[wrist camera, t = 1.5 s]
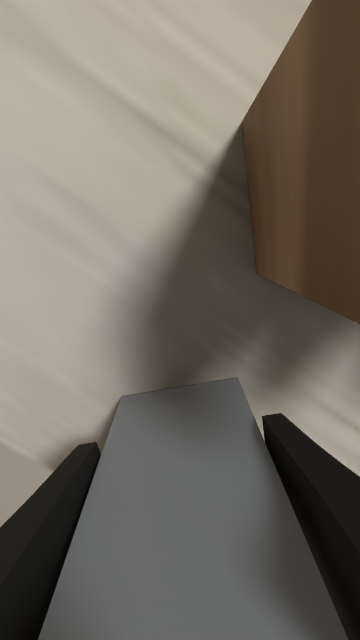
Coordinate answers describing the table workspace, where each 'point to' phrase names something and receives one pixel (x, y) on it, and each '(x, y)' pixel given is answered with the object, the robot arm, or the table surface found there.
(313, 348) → the table surface
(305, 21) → the domino
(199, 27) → the table surface
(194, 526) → the domino
